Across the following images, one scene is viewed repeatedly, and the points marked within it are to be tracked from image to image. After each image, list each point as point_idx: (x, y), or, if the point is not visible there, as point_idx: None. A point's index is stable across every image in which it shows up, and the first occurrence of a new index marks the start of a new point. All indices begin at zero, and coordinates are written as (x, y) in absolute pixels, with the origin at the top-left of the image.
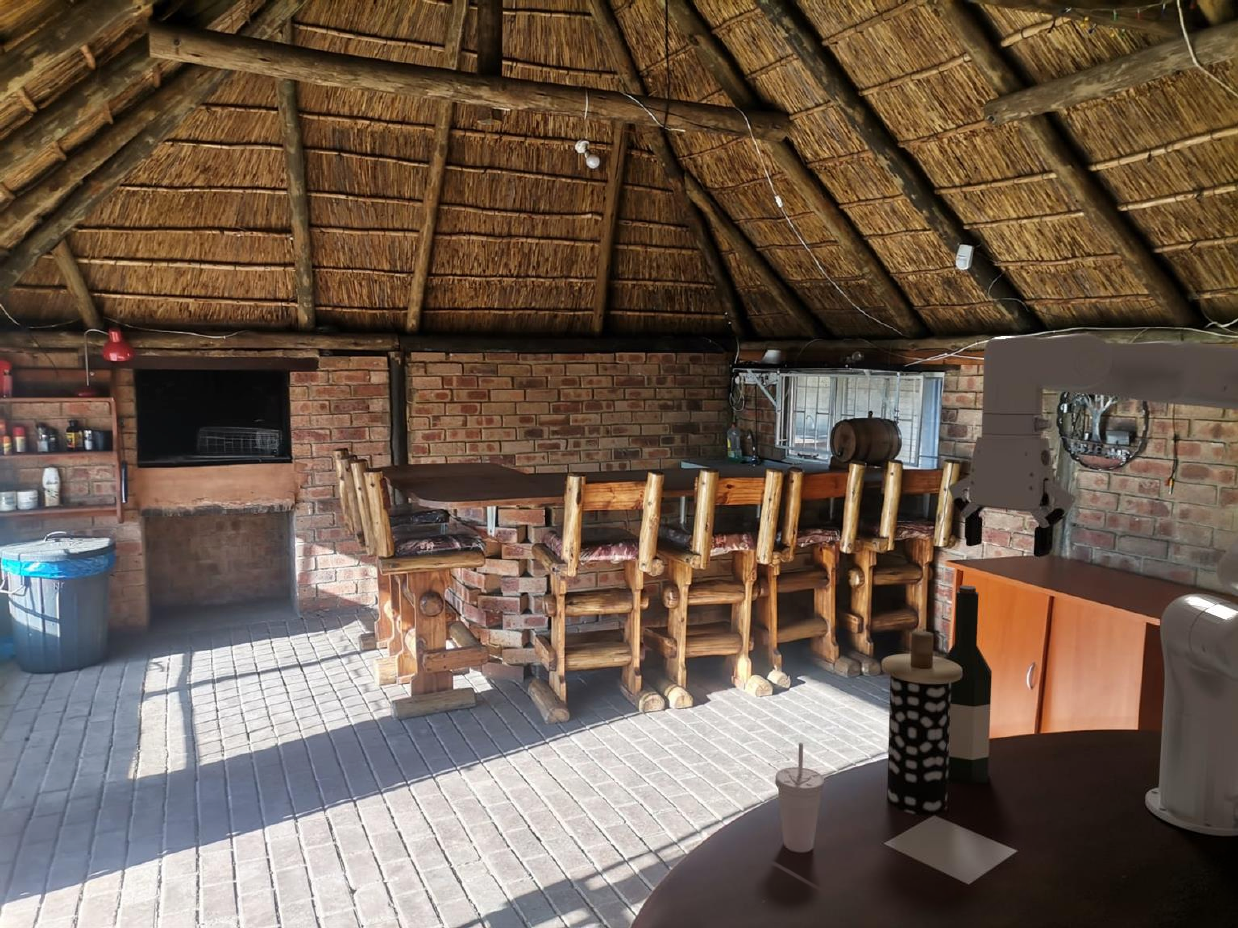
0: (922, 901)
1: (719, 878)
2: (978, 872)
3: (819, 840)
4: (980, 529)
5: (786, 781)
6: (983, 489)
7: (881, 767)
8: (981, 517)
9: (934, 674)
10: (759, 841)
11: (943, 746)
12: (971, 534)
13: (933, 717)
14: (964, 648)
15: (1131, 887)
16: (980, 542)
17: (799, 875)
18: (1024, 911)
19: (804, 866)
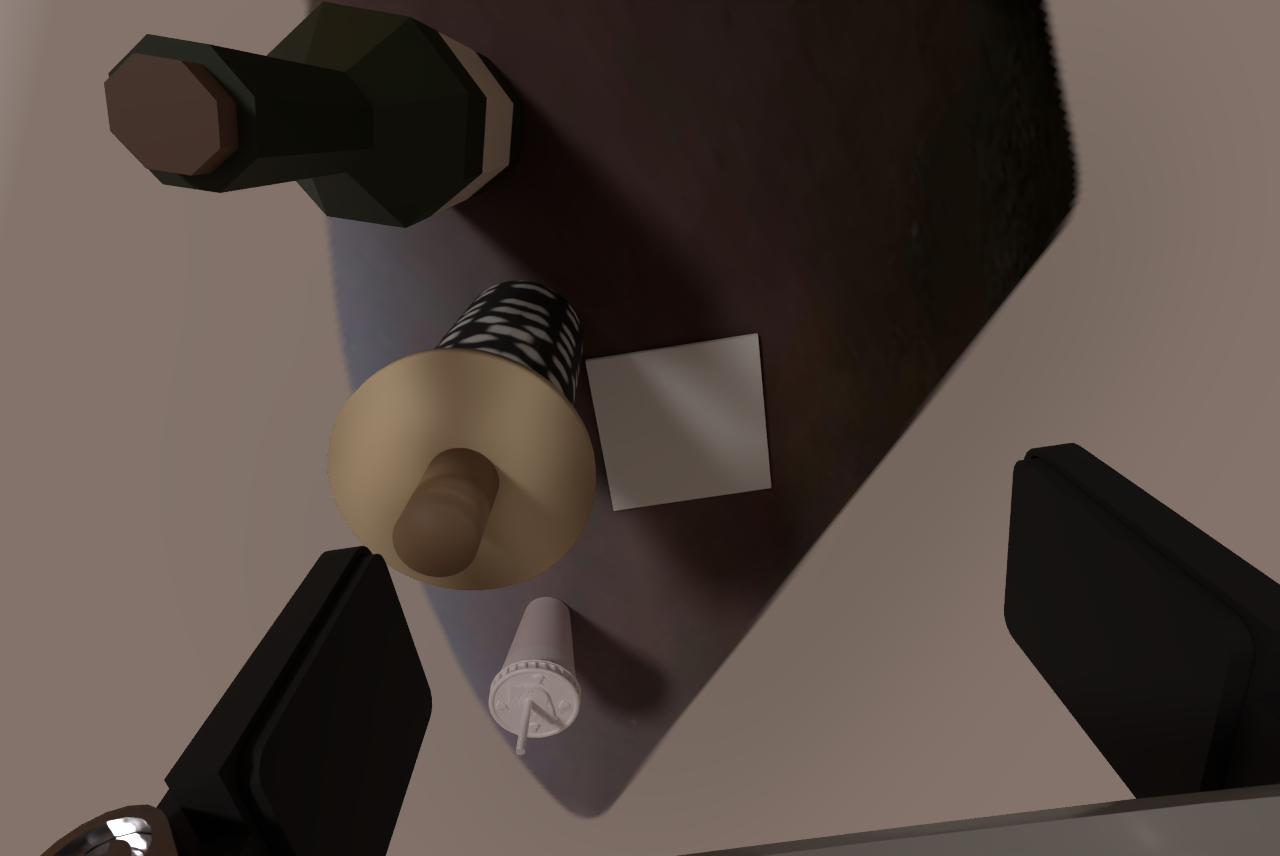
0: (753, 565)
1: (561, 737)
2: (760, 450)
3: (546, 578)
4: (333, 677)
5: (536, 729)
6: None
7: (349, 274)
8: (228, 769)
9: (550, 511)
10: (504, 650)
11: (574, 385)
12: (405, 792)
13: None
14: (359, 164)
15: (938, 255)
16: (384, 575)
17: (610, 656)
18: (857, 466)
19: (595, 638)
